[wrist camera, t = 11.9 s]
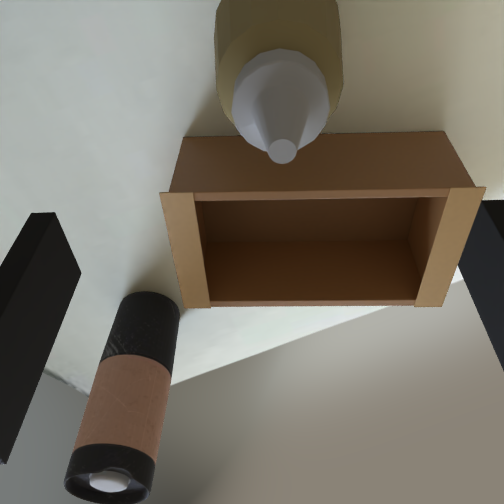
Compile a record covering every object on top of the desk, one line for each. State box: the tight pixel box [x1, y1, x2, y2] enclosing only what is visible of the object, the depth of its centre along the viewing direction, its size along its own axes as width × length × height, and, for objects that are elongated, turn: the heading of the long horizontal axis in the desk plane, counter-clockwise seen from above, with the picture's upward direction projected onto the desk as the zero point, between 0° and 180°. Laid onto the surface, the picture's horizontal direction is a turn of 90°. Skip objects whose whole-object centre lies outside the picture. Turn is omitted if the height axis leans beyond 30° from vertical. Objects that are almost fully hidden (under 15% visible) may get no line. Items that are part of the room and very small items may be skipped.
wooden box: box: [159, 131, 486, 308], centre depth 39 cm, size 13×23×8 cm, turn 92°
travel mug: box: [64, 292, 180, 504], centre depth 47 cm, size 8×8×20 cm
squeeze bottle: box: [214, 0, 343, 164], centre depth 25 cm, size 8×8×18 cm
